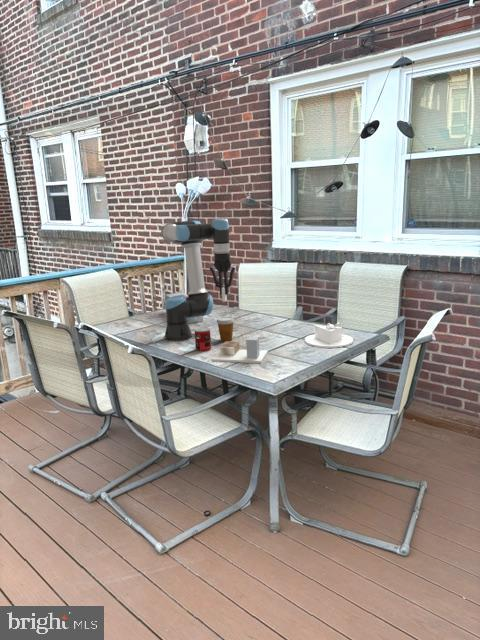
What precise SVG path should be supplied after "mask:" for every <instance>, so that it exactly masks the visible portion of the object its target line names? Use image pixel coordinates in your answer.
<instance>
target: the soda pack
mask: <svg viewBox="0 0 480 640" xmlns="http://www.w3.org/2000/svg"><path fill="white" fill-rule="evenodd" d="M177 295H185V296H186V297H188V294H185V293H183V292H182V291H181V292H176V293H175V292H174V293H167V294H164V301H165V302H166V300H167V299H168V298H170V297H173V296H177ZM198 322H200V323H203V322H204V316H199V317H191V318H188V325H192V324H191V323H194V324H199V323H198Z"/></svg>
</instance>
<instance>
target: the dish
mask: <svg viewBox="0 0 480 640" xmlns="http://www.w3.org/2000/svg"><path fill="white" fill-rule="evenodd" d="M339 324H340V321H338V322H337V323H334V324H332V323H330V322H328V323H327V325H316V324H314V334H310V335H307V336H305V338H304V343H305V344H306V345H308V346H311V347H315V348H321V349H338V348H337V347H340V348H344V347H343V346H345V347H348V346H351V345H352V344H353V343H354V338H353V337H352V336H350V335H347V334H343V327H342V326H337V325H339ZM352 342H353V343H352ZM350 344H351V345H350Z"/></svg>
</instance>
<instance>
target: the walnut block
mask: <svg viewBox="0 0 480 640" xmlns="http://www.w3.org/2000/svg"><path fill="white" fill-rule="evenodd" d="M239 349H240V341H224V343H223V344H221V346H220V347H219V351H220V355H228V356H234V355H235V354H236V353H237V352H238V351H239Z"/></svg>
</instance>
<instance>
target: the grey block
mask: <svg viewBox="0 0 480 640" xmlns="http://www.w3.org/2000/svg"><path fill="white" fill-rule="evenodd" d="M245 341H246V350H247V358H258V357H259V355H260V352H259V350H260V337H259V336H248V337H247V338H246V340H245Z"/></svg>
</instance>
